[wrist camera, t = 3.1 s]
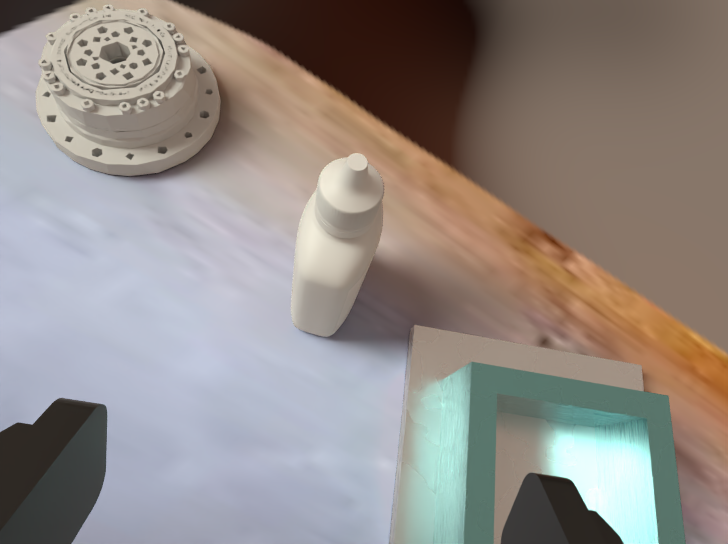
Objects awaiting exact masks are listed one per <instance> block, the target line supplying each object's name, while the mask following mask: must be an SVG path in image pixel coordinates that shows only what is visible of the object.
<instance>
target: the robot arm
mask: <svg viewBox="0 0 728 544" xmlns="http://www.w3.org/2000/svg"><path fill="white" fill-rule="evenodd" d="M106 442H107V409H106V406H105V405H103V404H97V403H91V402H85V401H78V400H72V399H65V398H59V399H57V400H56V401H54V402H53V403H52V404H51V405H50V406H49V407H48V409H47V410H46V411H45V412H44V413H43V414H42V415H41V416H40V417H39V418H38V419H37V420H36V422H35V423H34V424H33V425H30V424H24V423H16V424H14V425H12V426H10V427H9V428H7V429H5V430H3V431H2V432H0V544H71V543H72V542H73V540H74V538H75V537H76V535H77V533H78V532H79V530H80V528H81V527H82V525H83V524H84V522H85V520H86V519H87V517H88V515H89V514H90V512H91V510H92V509H93V507H94V505H95V503H96V501H97V499H98V497H99V494H100V491H101V489H102V485H103V482H104V477H105V472H106ZM501 544H624V543H623V541H622V539H621V537H620V536H619V535H618V534H617V533H616V532H615V530H614V529H613V528H612V527H611V526H610V525H609V524H608V523H607V522H606V521H605V520H604V519H603V518H602V517H601V516H600V515H599V514H598V513H597V512H596V511H593V510H588V508H587V506H586V504H585V502H584V501H583V499H582V497H581V495H580V493H579V491H578V489H577V488H576V486H575V484H574V483H573V482H572V480H570V479H568V478H564V477H558V476H551V475H545V474H538V473H528V474H527V475H526V476H525V478H524V480H523V482H522V484H521V487H520V489H519V491H518V494H517V496H516V499H515V501H514V503H513V506H512V508H511V511H510V513H509V515H508V518H507V520H506V523H505V525H504V528H503V531H502V536H501Z"/></svg>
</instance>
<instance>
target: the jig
mask: <svg viewBox="0 0 728 544" xmlns="http://www.w3.org/2000/svg"><path fill="white" fill-rule="evenodd" d="M528 473H538V474H545V475H551V476H558V477H564V478H568V479H570V480H572V482H573V483H574V484H575V486H576V488H577V489H578V491H579V493H580V495H581V497H582V499H583V501H584V502H585V504H586V506H587V508H588V510H593V511H596V512H597V513H598V514H599V515H600V516H601V517H602V518H603V519H604V520H605V521H606V522H607V523H608V524H609V525H610V526H611V527H612V528H613V529H614V530H615V532H616V533H617V534H618V535H619V536H620V537H621V539H622V541H623V543H624V544H686V543H685V535H684V526H683V518H682V509H681V500H680V492H679V483H678V474H677V466H676V457H675V448H674V440H673V431H672V423H671V414H670V405H669V397H668V396H667V395H661V394H655V393H650V392H644V387H643V377H642V366H641V365H637V364H631V363H626V362H620V361H614V360H609V359H603V358H598V357H592V356H586V355H581V354H575V353H570V352H564V351H559V350H553V349H547V348H542V347H536V346H531V345H525V344H519V343H514V342H508V341H503V340H497V339H492V338H486V337H480V336H475V335H469V334H464V333H458V332H452V331H447V330H441V329H436V328H430V327H425V326H419V325H414V326H413V327H412V328H411V329H410V335H409V345H408V355H407V366H406V376H405V386H404V396H403V406H402V416H401V427H400V437H399V447H398V457H397V467H396V478H395V488H394V498H393V508H392V518H391V529H390V539H389V544H501V536H502V531H503V528H504V525H505V523H506V520H507V518H508V515H509V513H510V511H511V508H512V506H513V503H514V501H515V499H516V496H517V494H518V491H519V489H520V487H521V484H522V482H523V480H524V478H525V476H526V475H527V474H528Z"/></svg>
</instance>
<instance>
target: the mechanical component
mask: <svg viewBox="0 0 728 544" xmlns="http://www.w3.org/2000/svg"><path fill="white" fill-rule="evenodd" d="M70 20H71V21H68V22H66V23H65V24H64V25H63V26H62V27H60V28H59V29H58V30H57V31H56V32H54V33H53V32H50V33H48V34H47V35H46V38H47V40H48V42H47V43H46V45H45V46H44V48H43V53H42V57H41V59H40V60H39V63H38V64H39V66H40V67H41V69H42V75H41V78H40V81H39V84H38V87H37V90H36V108H37V113H38V115H39V118H40V121H41V123H42V125H43V127H44V128H45V130H46V131H47V133H48V134H49V136H50V137H51V139H52V140H53V142H54V143H55V144H56V146H57V147H58V148H59V149H60V150H61V151H62V152H64V153H65V154H66V155H67V156H69V157H70V158H71V159H72V160H73V161H75V162H77V163H79V164H81V165H83V166H85V167H87V168H89V169H92V170H95V171H99V172H103V173H106V174H112V175H125V176H134V175H143V174H151V173H159V172H161V171H164V170H166V169H169V168H171V167H173V166H176V165H178V164H181V163H183V162H185V161H187V160H188V159H189V158H191V157H192V156H194V155H195V154H197V153H198V152H199V151H200V150H201V149H202V148H203V146H204V145H205V144H206V143H207V142H208V141H209V140H210V139H211V137H212V135H213V133H214V130H215V128H216V126H217V124H218V121H219V116H220V104H221V99H220V95H219V90H218V85H217V81H216V78H215V76H214V74H213V72H212V70H211V68H210V66H209V65H208V63H207V62H206V61H205V60H204V59H203V58H202V57H201V55H200V54H199V53H197V52H196V51H195V50H193V49H192V48H190V47H189V46H188V45H186V43H185V41H184V36H183V35H182V34H180V33H178V32H177V31H176V28H175V25H174V24H172V23H167V22H165V21H163V20H161V19H159V18H157V17H155V16H153V15H150V14H149V13H148V11H147V10H146V9H145V8H140V9H138V10H137V11H134V10H126V9H114V7H113V6H112V5H109V4H108V5H104V6H103V10H101V11H97V9H95V8H87V9H86V14H84V15H82V16H81V15H80V14H78V13H73V14H71V15H70Z"/></svg>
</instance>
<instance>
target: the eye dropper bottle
mask: <svg viewBox="0 0 728 544" xmlns="http://www.w3.org/2000/svg"><path fill="white" fill-rule="evenodd" d="M383 184H384V183H383V180H382V177H381V176H380V174H379V173H378V171H377V170H376V169H375V168H374V167H373V166H372V165H370V164H369V163H368V161H367V159H366V157H365V156H363V155H362V154H359V153H354V154H351V155H350V156H349V157H348V158H340V159H336V160H334V161H333V162H330V163H329V164H328V165H327V166H325V168H323V170H322V172H321V173H320V176H319V179H318V185H317V189H316V191H315V192H314V193H313V195H312V196H311V198H310V200H309V201H308V203H307V205H306V207H305V209H304V212H303V214H302V217H301V220H300V224H299V228H298V233H297V239H296V247H295V258H294V270H293V283H292V295H291V316H292V322H293V324H294V326H295V327H296V328H298V329H299V330H302V331H305V332H309V333H312V334H315V335H319V336H322V337H329V336H331V335H333V334H334V333H335V332H336V331H337V330H338V329H339V327H340V326H341V325H342V323H343V322H344V321H345V319H346V317H347V316H348V314H349V312H350V310H351V308H352V306H353V304H354V302H355V299H356V297H357V295H358V292H359V290H360V288H361V285H362V283H363V281H364V278H365V276H366V274H367V271H368V269H369V266H370V264H371V262H372V259H373V257H374V254H375V252H376V249H377V247H378V243H379V240H380V236H381V232H382V226H383V204H382V199H383V196H384V185H383Z"/></svg>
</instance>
